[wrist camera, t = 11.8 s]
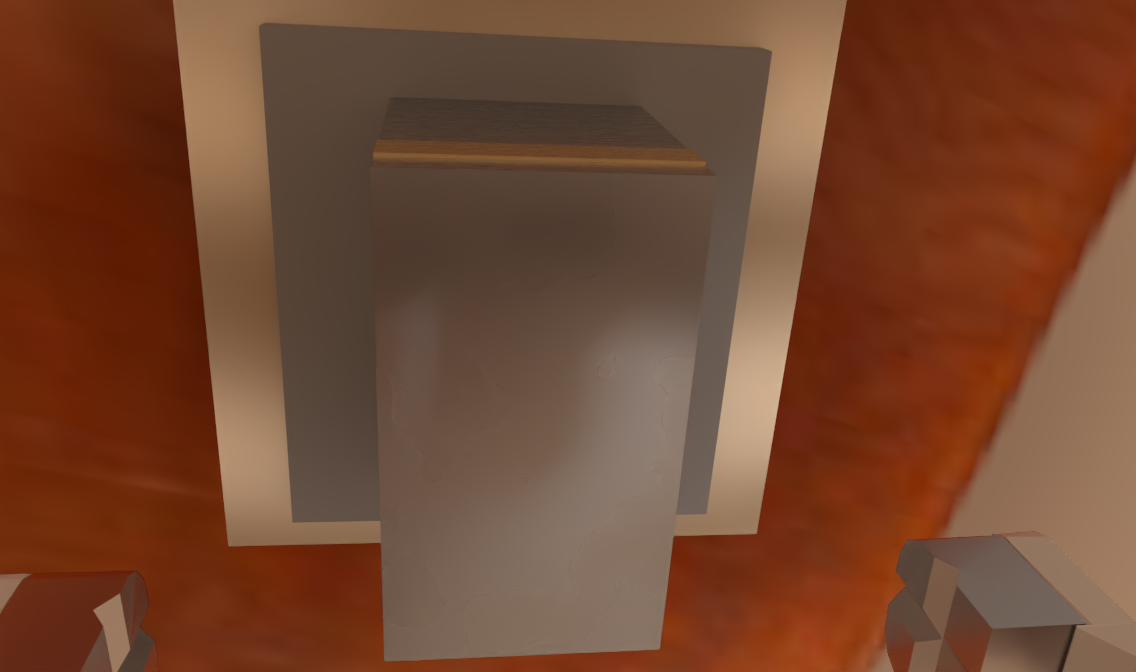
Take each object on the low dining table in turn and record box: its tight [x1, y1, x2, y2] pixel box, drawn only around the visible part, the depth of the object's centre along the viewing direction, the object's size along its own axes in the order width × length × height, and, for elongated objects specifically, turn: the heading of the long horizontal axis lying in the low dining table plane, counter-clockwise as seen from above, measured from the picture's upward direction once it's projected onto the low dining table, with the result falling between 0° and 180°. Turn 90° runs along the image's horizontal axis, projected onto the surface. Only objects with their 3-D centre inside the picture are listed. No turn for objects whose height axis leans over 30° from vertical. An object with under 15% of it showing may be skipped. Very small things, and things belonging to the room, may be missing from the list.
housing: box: [370, 97, 717, 662], centre depth 16 cm, size 4×8×5 cm, turn 177°
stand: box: [173, 0, 847, 546], centre depth 21 cm, size 12×12×5 cm
